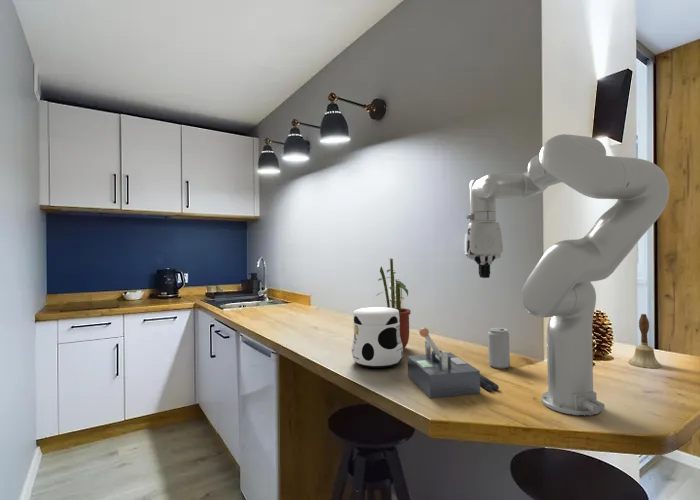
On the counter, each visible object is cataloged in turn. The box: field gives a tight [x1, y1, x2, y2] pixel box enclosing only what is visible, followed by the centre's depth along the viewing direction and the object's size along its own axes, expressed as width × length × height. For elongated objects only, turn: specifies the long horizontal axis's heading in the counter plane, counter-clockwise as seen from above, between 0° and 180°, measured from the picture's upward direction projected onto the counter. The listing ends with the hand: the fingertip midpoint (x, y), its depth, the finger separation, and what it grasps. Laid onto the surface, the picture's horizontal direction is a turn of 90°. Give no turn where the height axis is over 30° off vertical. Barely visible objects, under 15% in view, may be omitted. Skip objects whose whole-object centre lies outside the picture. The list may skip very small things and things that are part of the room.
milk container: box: [351, 306, 404, 369], centre depth 130 cm, size 17×17×18 cm
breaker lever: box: [419, 327, 441, 361], centre depth 109 cm, size 4×3×11 cm
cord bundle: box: [480, 373, 499, 392], centre depth 111 cm, size 18×3×2 cm, turn 10°
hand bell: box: [628, 313, 662, 370], centre depth 121 cm, size 8×8×16 cm
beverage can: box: [487, 327, 511, 370], centre depth 123 cm, size 6×6×12 cm
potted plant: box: [372, 257, 412, 350], centre depth 149 cm, size 17×16×35 cm
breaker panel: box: [407, 339, 481, 399], centre depth 109 cm, size 18×14×11 cm
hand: (484, 277), depth 119 cm, fingers closed
